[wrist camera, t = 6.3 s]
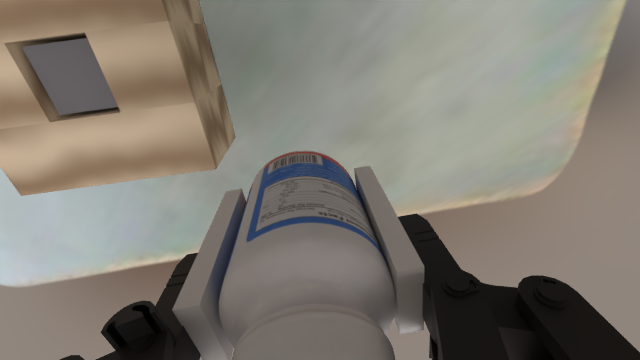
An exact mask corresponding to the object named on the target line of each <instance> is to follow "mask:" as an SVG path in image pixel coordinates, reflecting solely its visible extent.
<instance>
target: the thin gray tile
mask: <svg viewBox="0 0 640 360" xmlns="http://www.w3.org/2000/svg"><path fill="white" fill-rule="evenodd" d="M22 48H23V50H24V52H25V54H26V55H27V57H28V59H29V61H30V63H31V64H32V66H33V68H34V70H35V72H36V73H37V75H38V77H39V79H40V81H41V82H42V84H43V86H44V88H45V90H46V91H47V93H48V95H49V97H50V99H51V100H52V102H53V104H54V106H55V108H56V109H57V111H58V113H59V115H64V114H71V113H78V112H85V111H93V110H100V109H107V108H114V107H118V105H117V103H116V101H115V98H114V96H113V94H112V92H111V89H110V87H109V85H108V83H107V81H106V78H105V76H104V74H103V72H102V70H101V67H100V65H99V63H98V61H97V59H96V56H95V54H94V52H93V50H92V47H91V45H90V43H89V41H88V39H87V38H83V39H76V40H68V41H61V42H54V43H46V44H39V45H32V46H24V47H22Z"/></svg>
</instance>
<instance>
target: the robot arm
mask: <svg viewBox="0 0 640 360" xmlns="http://www.w3.org/2000/svg"><path fill="white" fill-rule="evenodd" d="M354 172H355V180H356V188H357V192H358V195H359V197H360V200H361V202H362V205H363V207H364V210H365V212H366V214H367V217H368V219H369V222H370V224H371V226H372V229H373V231H374V234H375V236H376V239H377V241H378V243H379V246H380V248H381V250H382V253H383V256H384V258H385V261H386V263H387V266H388V269H389V271H390V274H391V277H392V280H393V283H394V289H395V296H396V309H395V313H394V318H395V321H396V324H397V327H398V330H399V333H400V334H403V333H409V332H415V331H421V330H424V321H425V323H426V325H427V328H428V330H429V332H430V351H429V358H432V360H640V352H639V351H638V350H637V349H636V348H634V347H633V346H632V345H631V344H630V343H629V342H628V341H627V340H626V339H625V338H624V337H623V336H622V335H621V334H620V333H619V332H618V331H617V330H616V329H615V328H614V327H613V326H612V325H611V324H610V323H608V321H607V320H606V319H605V318H604V317H603V316H602V315H600V314H599V312H597V311H596V310H595V309H594V308H593V307H592V306H591V305H590V304H589V303H588V302H587V301H586V300H585V299H584V298H583V297H582V296H581V295H580V294H579V293H578V292H577V291H575V290H574V289H573V288H571V287H570V286H569V285H567V284H566V283H563V282H561V281H559V280H557V279H555V278H550V277H546V276H529V277H526V278H523V279H522V281H521V282H520V283H519V285H518V288H514V287H504V286H494V285H489V284H484V283H481V282H480V281H479V280H478V279H477V278H476V277H474V276H473V275H472V274H470V273H467V272H465V271H463V270H461V269H460V267H459V266H458V264H457V263H456V261H455V260H454V259H453V257H452V256H451V254H450V253H449V251H448V250H447V248H446V247H445V245H444V244H443V242H442V241H441V240H440V239H439V237H438V235H437V234H436V232H434V229H433V228H432V227H431V225H430V224H429V222H428V221H427V220H426V219H424V218H423V217H421V216H420V215H418V214H412V215H406V216H400V217H397V215H396V213H395V211H394V209H393V208H392V206H391V204H390V202H389V200H388V198H387V196H386V195H385V193H384V191H383V189H382V187H381V185H380V184H379V182H378V180H377V178H376V176H375V174H374V172H373V171H372V169H371V167H370V166H366V167H360V168H355V169H354ZM245 206H246V200H245V197H244V194H243V191H242V189H237V190H231V191H226V193H225V195H224V197H223V199H222V202H221V204H220V206H219V208H218V210H217V213H216V215H215V217H214V219H213V221H212V224H211V226H210V228H209V230H208V232H207V234H206V237H205V239H204V241H203V243H202V245H201V248H200V250H199V252H198V253H194V254H188V255H186V256H185V257H184V258H183V259H182V260H181V261H180V262H179V263H178V265H177V266H176V268H175V270H174V272H173V274H172V275H171V278H170V279H169V282H168V283H167V285H166V288H165V289H164V291H163V293H162V295H161V297H160V298H159V301H158V302H157V304H156V306H154V305H153V304H152V303H151V302H150V301H140V302H136V303H133V304H130V305H129V306H126V307H124V308H123V309H121V310H120V311H119V312H117V313H116V314H115V315H114V316H113V317H112V318H111V319H110V320H109V321H108V322H107V323H106V324H105V326H104V327H103V329H102V331H101V333H102V335H103V336H104V337H105V338H106V339H107V340H108V341H109V343H110V344H111V345H112V346H113V348H114V349H115V350H116V351H114V352H112V353H110V354H107V355H105V356H103V357H101V358H99V359H96V360H199V359H200V357H201V358H202V360H231V356H232V351H233V345H232V344H231V343H230V341H229V340H228V338H227V337H226V335H225V333H224V330H223V328H222V325H221V321H220V316H219V299H220V293H221V289H222V285H223V281H224V277H225V274H226V270H227V267H228V264H229V260H230V257H231V254H232V251H233V247H234V244H235V241H236V237H237V234H238V230H239V227H240V223H241V220H242V216H243V213H244V209H245ZM60 360H84V359H83V358H82V357H80V355H71V356H68V357H65V358H62V359H60Z"/></svg>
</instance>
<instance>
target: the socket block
mask: <svg viewBox="0 0 640 360" xmlns="http://www.w3.org/2000/svg"><path fill="white" fill-rule="evenodd" d="M83 38H87V39H88V41H89V43H90V45H91V47H92V50H93V52H94V54H95V56H96V59H97V61H98V63H99V65H100V67H101V70H102V72H103V74H104V76H105V78H106V81H107V83H108V85H109V87H110V89H111V92H112V94H113V96H114V98H115V101H116V103H117V105H118V107H114V108H107V109H100V110H93V111H85V112H78V113H71V114H64V115H59V113H58V111H57V109H56V108H55V106H54V104H53V102H52V100H51V99H50V97H49V95H48V93H47V91H46V90H45V88H44V86H43V84H42V82H41V81H40V79H39V77H38V75H37V73H36V72H35V70H34V68H33V66H32V64H31V63H30V61H29V59H28V57H27V55H26V54H25V52H24V50H23V48H22V47H24V46H32V45H39V44H46V43H54V42H61V41H68V40H76V39H83ZM234 139H235V133H234V129H233V126H232V122H231V118H230V115H229V111H228V107H227V104H226V100H225V96H224V93H223V89H222V85H221V82H220V78H219V74H218V71H217V67H216V63H215V60H214V56H213V52H212V49H211V45H210V41H209V38H208V34H207V30H206V27H205V23H204V19H203V16H202V12H201V8H200V5H199V1H198V0H0V167H1V168H2V170H3V171H4V173H5V174H6V175H7V177H8V178H9V180H10V181H11V182H12V184H13V185H14V187H15V188H16V189H17V191H18V192H19V194H20V195H21V196H23V195H31V194H38V193H45V192H52V191H60V190H67V189H74V188H81V187H88V186H96V185H103V184H110V183H117V182H125V181H132V180H139V179H146V178H154V177H161V176H168V175H175V174H182V173H190V172H197V171H204V170H211V169H216V168H217V167H218V165H219V163H220V162H221V160H222V158H223V157H224V155H225V154H226V152H227V150H228V149H229V147H230V145H231V144H232V142H233V140H234Z"/></svg>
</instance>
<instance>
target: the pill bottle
mask: <svg viewBox="0 0 640 360" xmlns="http://www.w3.org/2000/svg"><path fill="white" fill-rule="evenodd" d="M395 309H396V296H395V289H394V283H393V280H392V277H391V274H390V271H389V269H388V266H387V263H386V261H385V258H384V256H383V253H382V250H381V248H380V246H379V243H378V241H377V239H376V236H375V234H374V231H373V229H372V226H371V224H370V222H369V219H368V217H367V214H366V212H365V210H364V207H363V205H362V202H361V200H360V197H359V195H358V192H357V190H356V187H355V185H354V183H353V180H352V179H351V177H350V175H349V174H348V172H347V171H346V170H345V169H344V167H343V166H341V165H340V164H339V163H338V162H337V161H335V160H334V159H332V158H331V157H329V156H327V155H324V154H321V153H318V152H313V151H295V152H290V153H287V154H283V155H281V156H279V157H277V158H275V159H273V160H271V161H270V162H269V163H267V164H266V165H265V166H264V167H263V168H262V169H261V170H260V171H259V173H258V174H257V176H256V177H255V179H254V182H253V184H252V186H251V189H250V192H249V195H248V199H247V202H246V206H245V209H244V213H243V216H242V220H241V223H240V227H239V230H238V234H237V237H236V241H235V244H234V247H233V251H232V254H231V257H230V260H229V264H228V267H227V270H226V274H225V277H224V281H223V285H222V289H221V293H220V299H219V316H220V321H221V325H222V328H223V330H224V333H225V335H226V337H227V338H228V340H229V341H230V343H231V344H232V345H233V346H234V348H235V349H234V354H233V357H232V360H395V356H394V351H393V348H392V345H391V343H390V341H389V339H388V338H387V336H386V335H385V334H386V333H387V331H388V329H389V327H390V325H391V323H392V320H393V317H394V313H395Z"/></svg>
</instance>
